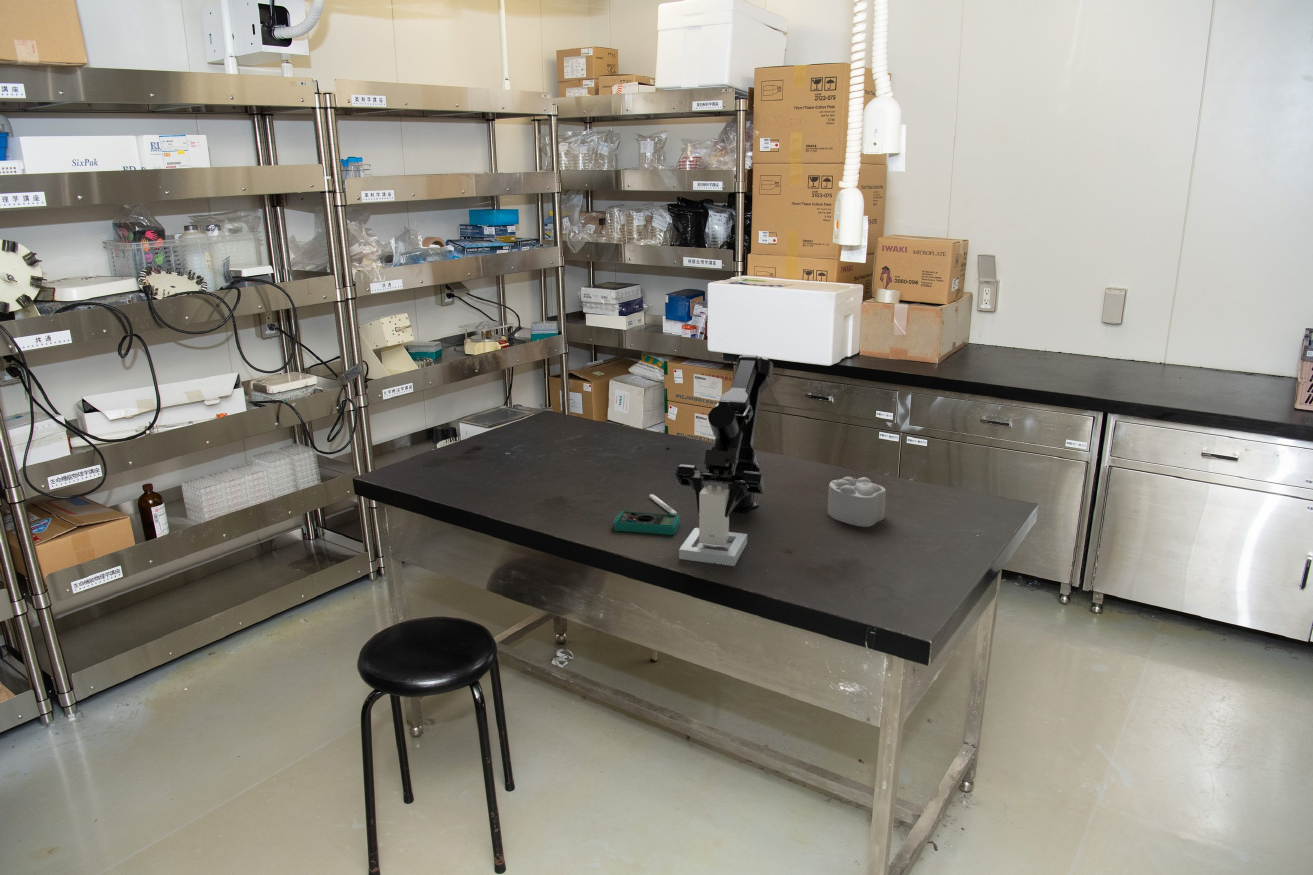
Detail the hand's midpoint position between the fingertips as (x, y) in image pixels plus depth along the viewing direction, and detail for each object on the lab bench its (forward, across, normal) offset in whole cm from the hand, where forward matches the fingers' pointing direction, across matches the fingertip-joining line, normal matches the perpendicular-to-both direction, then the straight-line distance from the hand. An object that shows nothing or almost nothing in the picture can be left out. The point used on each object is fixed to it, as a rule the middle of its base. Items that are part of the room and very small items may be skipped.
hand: (712, 515), depth 184 cm
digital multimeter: (0, -18, +13) cm, 22 cm away
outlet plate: (+5, 0, +7) cm, 9 cm away
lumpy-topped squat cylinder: (-15, +26, +28) cm, 42 cm away
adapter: (+4, 0, +6) cm, 7 cm away
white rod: (-9, -19, +22) cm, 31 cm away
